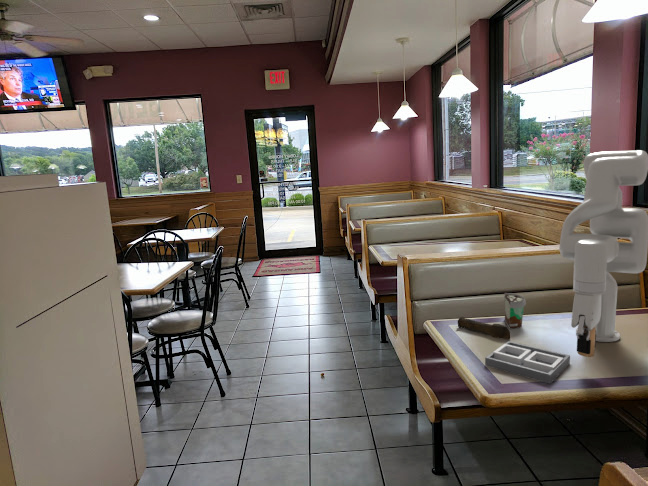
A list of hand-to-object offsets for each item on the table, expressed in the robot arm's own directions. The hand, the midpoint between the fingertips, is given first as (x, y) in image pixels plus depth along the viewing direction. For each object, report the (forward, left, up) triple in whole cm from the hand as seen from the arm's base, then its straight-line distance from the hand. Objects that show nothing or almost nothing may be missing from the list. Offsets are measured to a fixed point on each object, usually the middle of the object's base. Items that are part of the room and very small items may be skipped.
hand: (586, 349), depth 128 cm
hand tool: (-12, -35, -7) cm, 37 cm away
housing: (+5, -14, -7) cm, 16 cm away
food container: (-26, -30, -7) cm, 40 cm away
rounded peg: (0, 0, -1) cm, 1 cm away
